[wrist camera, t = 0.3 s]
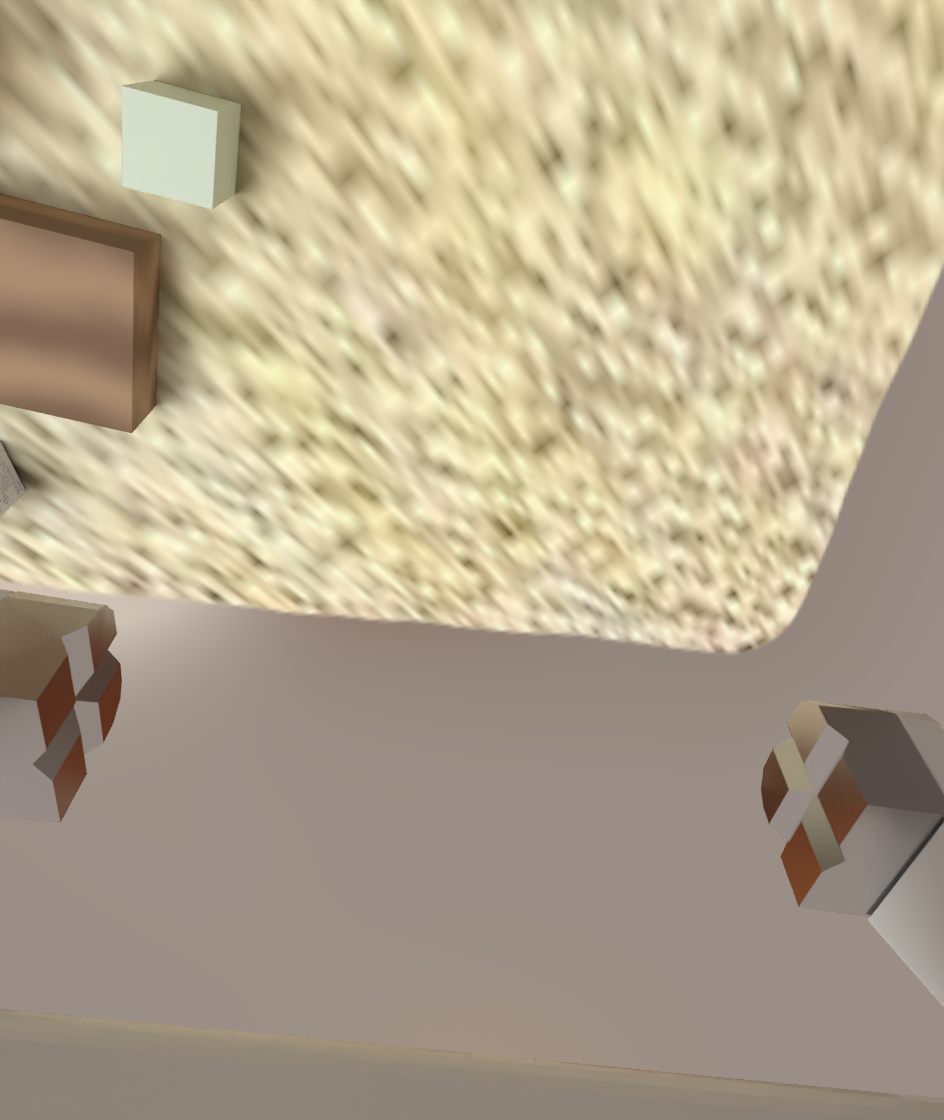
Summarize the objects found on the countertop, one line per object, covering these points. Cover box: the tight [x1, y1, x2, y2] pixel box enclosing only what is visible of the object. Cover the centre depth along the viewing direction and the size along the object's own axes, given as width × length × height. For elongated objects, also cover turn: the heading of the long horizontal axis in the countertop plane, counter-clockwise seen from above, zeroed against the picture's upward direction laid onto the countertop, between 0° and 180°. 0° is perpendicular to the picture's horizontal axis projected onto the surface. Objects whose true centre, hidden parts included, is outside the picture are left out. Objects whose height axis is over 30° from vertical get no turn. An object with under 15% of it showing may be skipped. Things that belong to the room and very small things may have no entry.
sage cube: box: [122, 81, 241, 209], centre depth 46 cm, size 5×5×5 cm
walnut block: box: [0, 194, 161, 433], centre depth 51 cm, size 12×12×5 cm
